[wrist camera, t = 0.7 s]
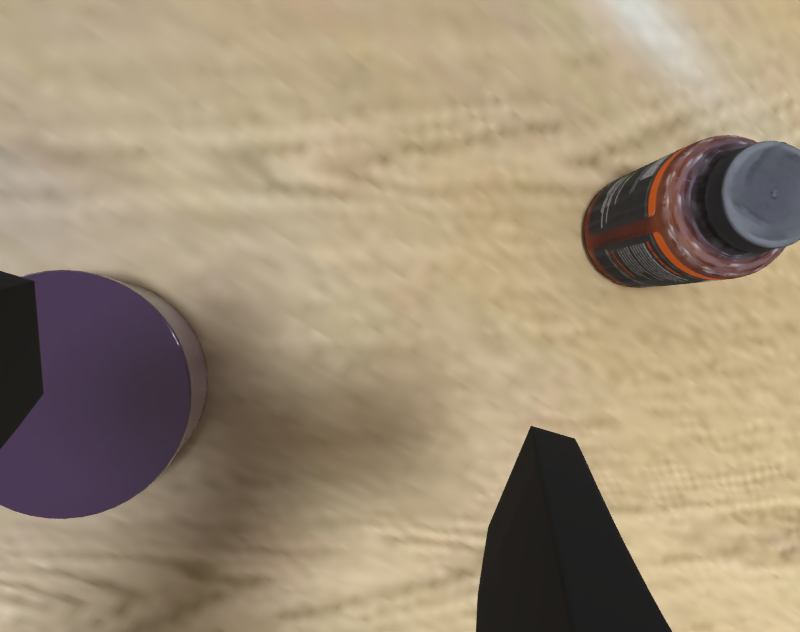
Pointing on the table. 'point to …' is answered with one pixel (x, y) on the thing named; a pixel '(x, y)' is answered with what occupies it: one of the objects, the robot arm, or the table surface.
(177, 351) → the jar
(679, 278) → the supplement bottle
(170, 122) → the table surface
